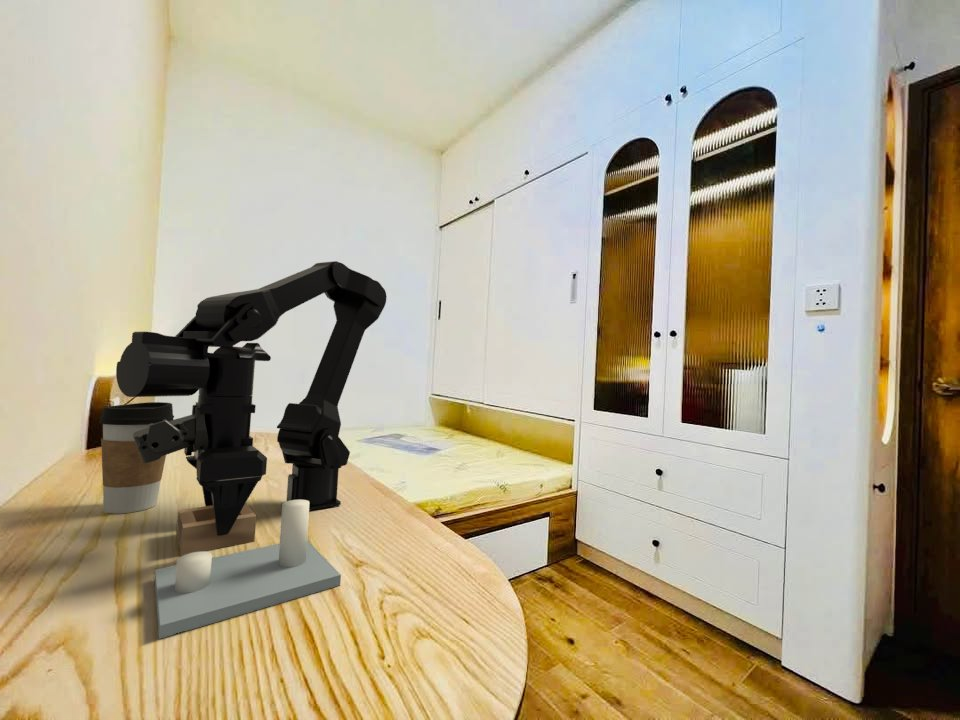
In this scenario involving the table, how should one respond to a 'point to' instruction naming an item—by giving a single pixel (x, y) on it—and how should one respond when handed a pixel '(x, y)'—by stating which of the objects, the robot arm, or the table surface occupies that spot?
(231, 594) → the post board
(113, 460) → the coffee cup
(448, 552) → the table surface
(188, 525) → the walnut ring
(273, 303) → the robot arm
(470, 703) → the table surface
